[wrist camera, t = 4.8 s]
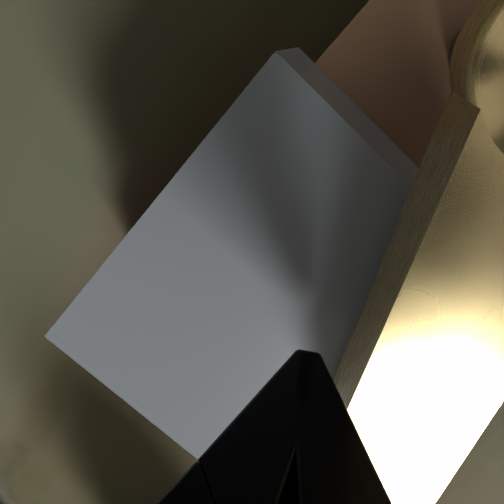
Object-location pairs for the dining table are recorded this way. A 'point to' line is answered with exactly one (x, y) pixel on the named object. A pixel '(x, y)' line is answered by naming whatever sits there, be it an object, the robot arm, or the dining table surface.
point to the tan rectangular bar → (439, 289)
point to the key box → (399, 65)
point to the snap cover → (244, 256)
